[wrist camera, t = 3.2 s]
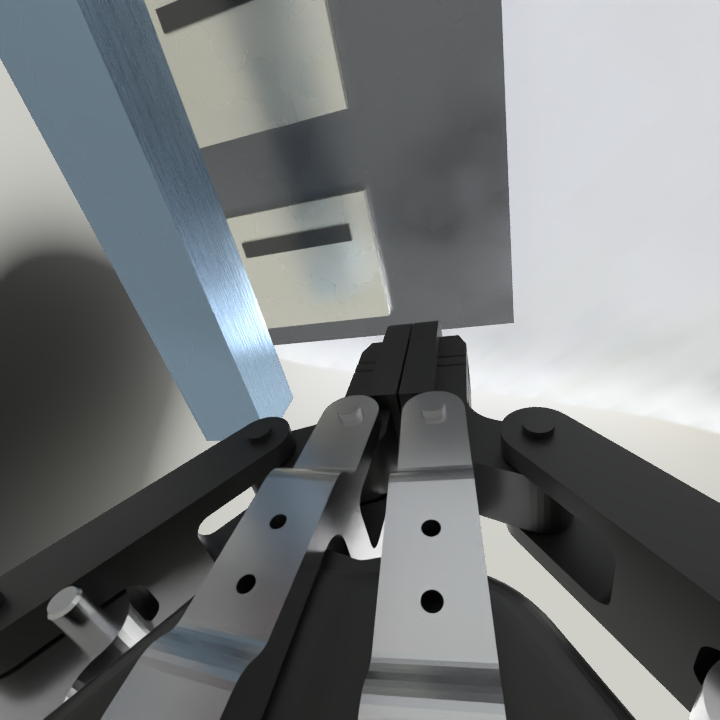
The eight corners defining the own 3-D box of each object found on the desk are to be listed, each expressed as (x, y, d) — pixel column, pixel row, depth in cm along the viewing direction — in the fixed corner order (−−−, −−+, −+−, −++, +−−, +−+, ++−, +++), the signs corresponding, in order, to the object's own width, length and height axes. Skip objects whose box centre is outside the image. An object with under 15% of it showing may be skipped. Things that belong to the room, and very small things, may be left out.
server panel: (484, -360, 10) (498, -795, 5) (511, 311, 20) (526, 388, 14) (31, -100, 15) (-191, -197, 10) (224, 340, 24) (160, 405, 19)
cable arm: (-135, -361, 8) (-393, -556, 6) (3, -502, 7) (-246, -820, 5) (226, 397, 18) (186, 446, 15) (311, 392, 16) (284, 445, 14)
